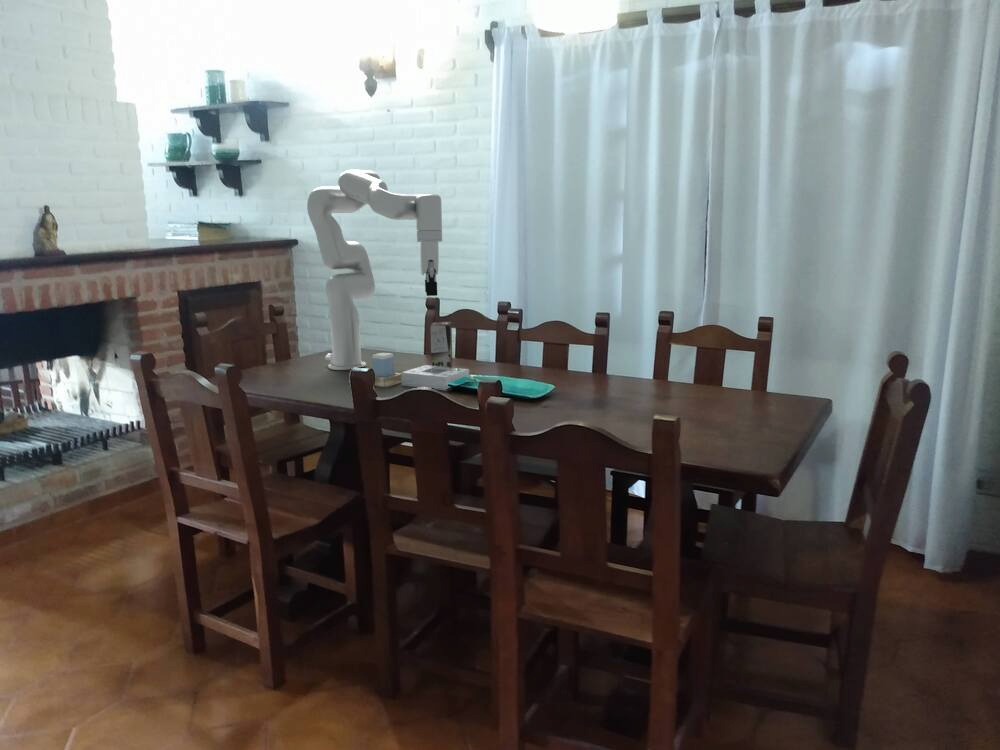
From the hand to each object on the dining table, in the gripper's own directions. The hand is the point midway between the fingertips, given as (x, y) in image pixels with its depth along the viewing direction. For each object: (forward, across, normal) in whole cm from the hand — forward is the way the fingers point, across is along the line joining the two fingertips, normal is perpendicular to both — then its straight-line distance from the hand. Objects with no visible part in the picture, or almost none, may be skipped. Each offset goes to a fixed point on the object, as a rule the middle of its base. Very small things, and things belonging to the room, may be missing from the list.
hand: (431, 294), depth 231 cm
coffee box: (+27, -13, +4) cm, 30 cm away
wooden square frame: (+27, +1, -15) cm, 31 cm away
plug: (+27, +1, -15) cm, 31 cm away
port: (+27, +5, 0) cm, 27 cm away
